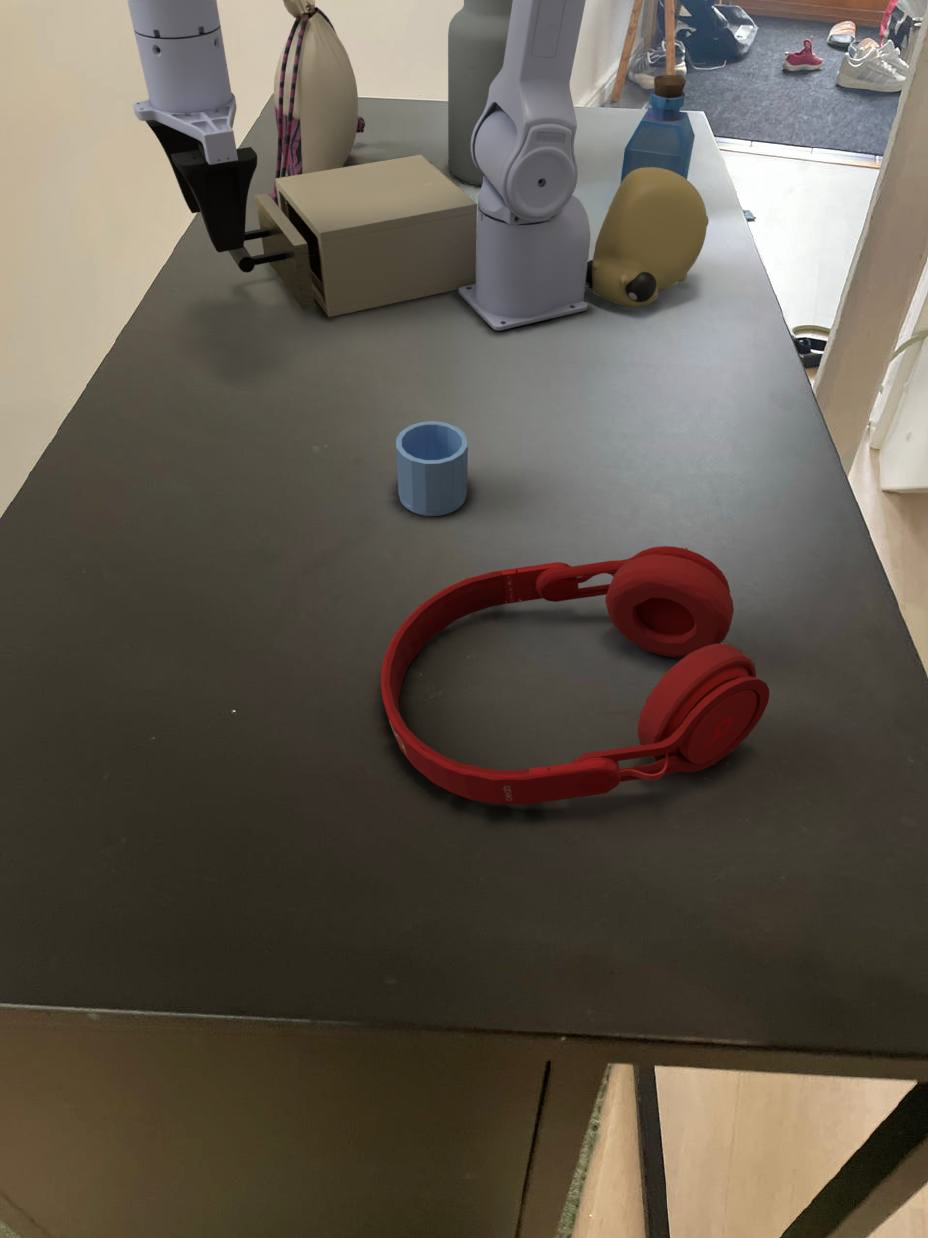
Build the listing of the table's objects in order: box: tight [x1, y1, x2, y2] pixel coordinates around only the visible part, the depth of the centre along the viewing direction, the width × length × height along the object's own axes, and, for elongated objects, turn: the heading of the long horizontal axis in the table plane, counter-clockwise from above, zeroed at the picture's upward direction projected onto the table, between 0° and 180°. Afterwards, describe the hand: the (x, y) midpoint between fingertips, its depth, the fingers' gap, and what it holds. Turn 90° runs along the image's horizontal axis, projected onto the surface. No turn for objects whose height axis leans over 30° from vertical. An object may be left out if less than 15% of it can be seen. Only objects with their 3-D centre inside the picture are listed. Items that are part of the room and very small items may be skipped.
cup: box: [395, 420, 469, 517], centre depth 63 cm, size 5×5×4 cm
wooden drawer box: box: [274, 154, 478, 318], centre depth 85 cm, size 15×13×8 cm
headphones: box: [380, 545, 770, 806], centre depth 50 cm, size 15×7×20 cm
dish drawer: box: [228, 192, 324, 311], centre depth 83 cm, size 18×11×6 cm, turn 115°
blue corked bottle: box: [619, 74, 696, 185], centre depth 95 cm, size 6×6×12 cm
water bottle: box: [447, 0, 513, 187], centre depth 95 cm, size 10×10×28 cm
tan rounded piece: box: [585, 167, 710, 308], centre depth 82 cm, size 10×12×11 cm
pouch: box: [268, 0, 366, 207], centre depth 95 cm, size 25×8×19 cm, turn 171°
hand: (216, 228), depth 71 cm, fingers open, 7 cm apart
